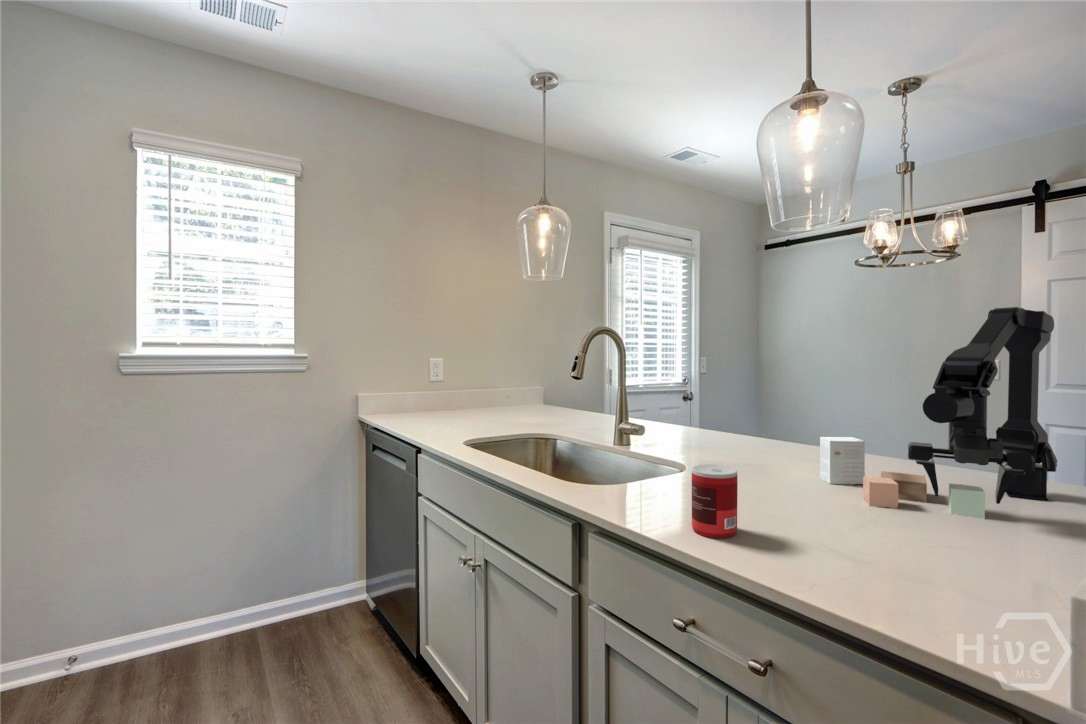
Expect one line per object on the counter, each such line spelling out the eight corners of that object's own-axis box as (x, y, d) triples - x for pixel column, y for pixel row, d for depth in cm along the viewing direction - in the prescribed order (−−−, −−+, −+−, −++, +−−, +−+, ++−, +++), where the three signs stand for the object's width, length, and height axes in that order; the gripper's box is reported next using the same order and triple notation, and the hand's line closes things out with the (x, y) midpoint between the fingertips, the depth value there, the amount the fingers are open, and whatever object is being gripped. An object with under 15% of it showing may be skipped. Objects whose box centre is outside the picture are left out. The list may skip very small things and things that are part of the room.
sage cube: (981, 512, 101) (981, 486, 101) (984, 519, 97) (985, 492, 97) (948, 507, 104) (949, 483, 104) (950, 514, 100) (951, 488, 99)
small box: (853, 479, 127) (853, 436, 126) (865, 485, 121) (865, 440, 121) (819, 478, 127) (819, 436, 127) (829, 484, 122) (829, 440, 122)
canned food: (736, 526, 93) (736, 465, 93) (737, 541, 86) (738, 476, 86) (692, 521, 96) (692, 463, 96) (690, 536, 88) (690, 472, 88)
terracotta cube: (890, 501, 108) (890, 478, 108) (898, 508, 103) (898, 484, 103) (863, 499, 110) (863, 476, 110) (869, 506, 105) (869, 482, 105)
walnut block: (924, 493, 114) (924, 475, 113) (926, 502, 107) (926, 483, 107) (881, 488, 118) (881, 471, 118) (880, 496, 111) (880, 478, 111)
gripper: (909, 421, 98) (908, 502, 99) (1043, 428, 88) (1042, 519, 88) (908, 414, 108) (907, 488, 108) (1029, 421, 97) (1027, 503, 98)
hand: (966, 499), depth 100 cm, fingers open, 9 cm apart
